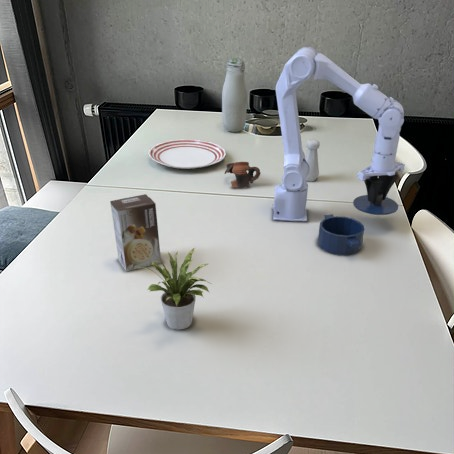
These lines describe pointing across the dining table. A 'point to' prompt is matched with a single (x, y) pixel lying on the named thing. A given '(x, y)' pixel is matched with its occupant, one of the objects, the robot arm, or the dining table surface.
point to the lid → (376, 205)
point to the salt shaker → (312, 159)
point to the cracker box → (136, 231)
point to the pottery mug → (242, 174)
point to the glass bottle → (234, 96)
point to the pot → (340, 235)
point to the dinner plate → (187, 153)
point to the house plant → (178, 292)
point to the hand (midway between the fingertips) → (376, 200)
